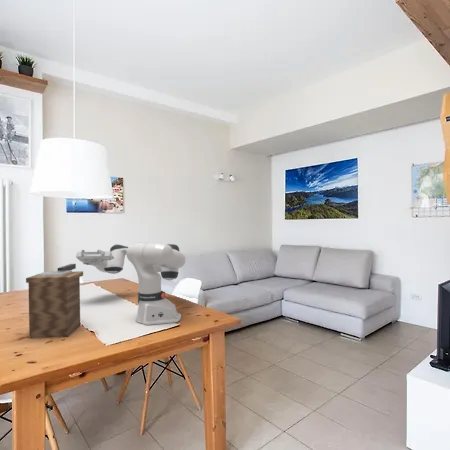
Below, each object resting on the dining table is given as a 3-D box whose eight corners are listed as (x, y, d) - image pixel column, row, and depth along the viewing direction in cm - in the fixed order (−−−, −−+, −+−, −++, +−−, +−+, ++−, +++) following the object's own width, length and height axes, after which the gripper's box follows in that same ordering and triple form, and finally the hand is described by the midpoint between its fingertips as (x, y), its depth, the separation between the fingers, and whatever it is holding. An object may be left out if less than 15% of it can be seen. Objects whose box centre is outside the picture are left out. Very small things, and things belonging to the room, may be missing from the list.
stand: (84, 324, 152) (83, 271, 152) (70, 336, 136) (69, 277, 136) (45, 326, 151) (44, 272, 151) (27, 338, 135) (25, 278, 135)
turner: (84, 268, 163) (84, 263, 163) (62, 276, 138) (62, 271, 138) (62, 268, 162) (62, 264, 162) (36, 277, 137) (36, 271, 137)
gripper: (114, 263, 194) (107, 255, 182) (80, 264, 193) (71, 256, 181) (115, 254, 197) (109, 245, 185) (82, 254, 196) (73, 246, 184)
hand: (90, 251), depth 183 cm, fingers open, 8 cm apart
